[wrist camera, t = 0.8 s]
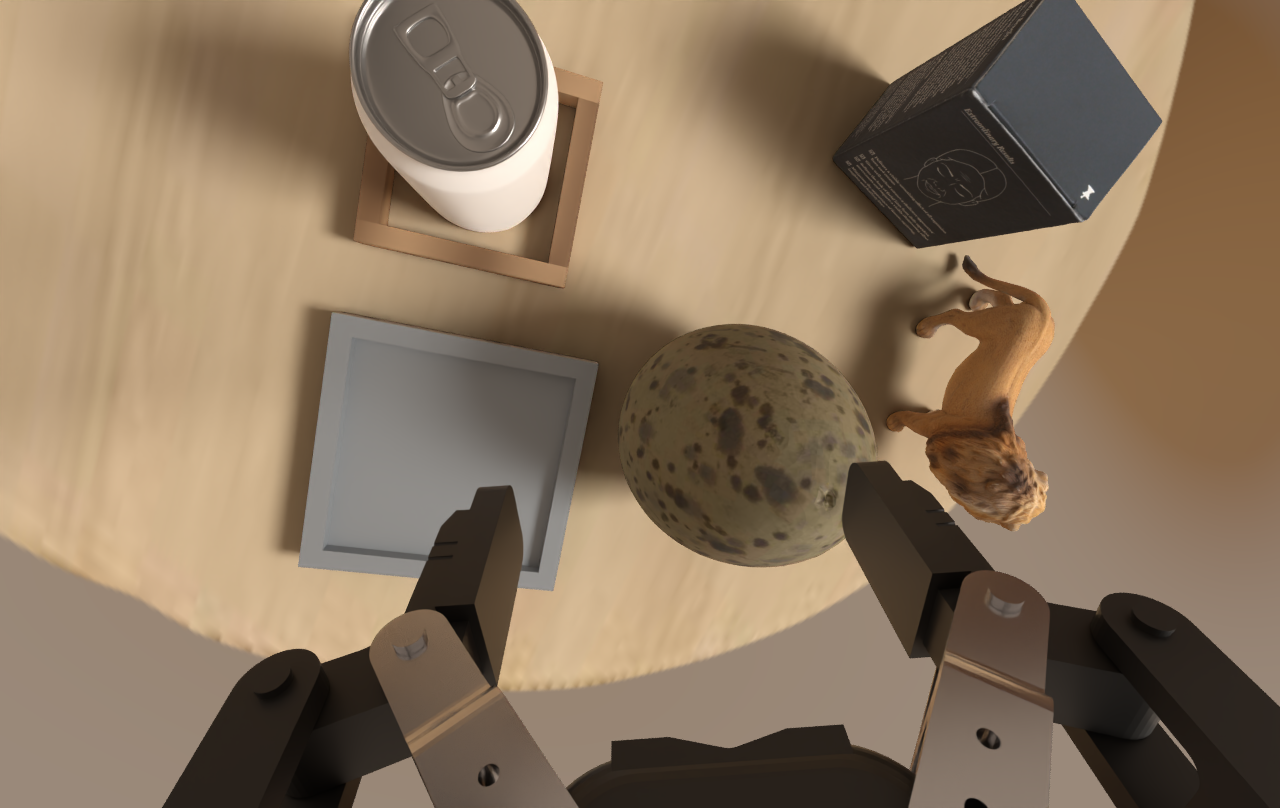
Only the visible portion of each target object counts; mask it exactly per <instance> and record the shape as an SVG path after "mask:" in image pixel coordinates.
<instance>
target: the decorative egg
mask: <svg viewBox="0 0 1280 808" xmlns="http://www.w3.org/2000/svg"><path fill="white" fill-rule="evenodd" d="M618 445H619V454H620V460H621V464H622V468H623V471H624V475H625V478H626V480H627V483H628V485H629V487H630V489H631V491H632V493H633V495H634V497H635V498H636V500H637V502H638V503H639V505H640V506H641V508H642V509H643V510H644V512H645V513H646V514H647V515H648V517H649V518H650V519H651V520H652V521H653V522H654V523H655V524H656V525H657V526H658V527H659V528H660V529H661V530H662V531H663V532H665V533H666V534H667V535H668V536H670V537H671V538H672V539H674V540H675V541H677V542H678V543H680V544H681V545H683V546H685V547H686V548H688V549H690V550H692V551H694V552H696V553H698V554H700V555H703V556H705V557H708V558H711V559H713V560H717V561H720V562H724V563H728V564H733V565H739V566H747V567H777V566H785V565H790V564H794V563H798V562H802V561H805V560H808V559H811V558H814V557H817V556H819V555H821V554H823V553H825V552H826V551H828V550H829V549H831V548H833V547H834V546H836V545H837V544H839V543H840V542H841V541H842V540H844V539H845V535H844V531H843V526H842V511H843V504H844V497H845V491H846V484H847V478H848V471H849V467H850V465H851V464H852V463H857V462H872V461H878V454H877V446H876V441H875V436H874V432H873V429H872V426H871V422H870V420H869V417H868V415H867V412H866V410H865V408H864V406H863V404H862V402H861V401H860V399H859V397H858V396H857V394H856V392H855V391H854V389H853V388H852V387H851V385H850V384H849V382H848V381H847V380H846V379H845V377H844V376H843V375H842V374H841V373H840V372H839V371H838V370H837V368H836V367H835V366H833V365H832V364H831V363H830V362H829V361H828V360H827V359H826V358H824V357H823V356H822V355H821V354H819V353H818V352H817V351H815V350H814V349H813V348H811V347H810V346H808V345H806V344H805V343H803V342H801V341H799V340H797V339H795V338H793V337H791V336H789V335H787V334H784V333H781V332H779V331H776V330H773V329H769V328H765V327H760V326H754V325H745V324H725V325H716V326H711V327H706V328H702V329H698V330H695V331H693V332H690V333H687V334H685V335H683V336H681V337H679V338H677V339H675V340H673V341H672V342H670V343H669V344H667V345H666V346H664V347H663V348H662V349H660V350H659V351H658V352H657V353H656V354H655V355H653V356H652V357H651V358H650V359H649V360H648V361H647V363H646V364H645V365H644V366H643V367H642V369H641V370H640V371H639V373H638V374H637V376H636V377H635V379H634V381H633V382H632V384H631V386H630V388H629V390H628V392H627V395H626V397H625V400H624V403H623V406H622V410H621V414H620V420H619V429H618Z"/></svg>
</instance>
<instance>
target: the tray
mask: <svg viewBox="0 0 1280 808" xmlns="http://www.w3.org/2000/svg"><path fill="white" fill-rule="evenodd" d="M598 365H599V364H598V363H597V362H596V361H592V360H587V359H582V358H577V357H572V356H566V355H561V354H556V353H551V352H546V351H541V350H536V349H530V348H525V347H520V346H515V345H510V344H505V343H500V342H495V341H489V340H484V339H479V338H474V337H469V336H464V335H459V334H453V333H448V332H443V331H438V330H433V329H428V328H423V327H418V326H412V325H407V324H402V323H397V322H392V321H387V320H382V319H376V318H371V317H366V316H361V315H356V314H351V313H346V312H332V315H331V323H330V330H329V338H328V345H327V353H326V360H325V368H324V375H323V383H322V390H321V398H320V405H319V413H318V421H317V428H316V436H315V443H314V451H313V458H312V466H311V473H310V481H309V488H308V496H307V503H306V511H305V518H304V526H303V533H302V541H301V548H300V556H299V564H298V567H306V568H317V569H327V570H338V571H348V572H359V573H369V574H379V575H390V576H400V577H411V578H420V575H421V573H422V570H423V568H424V566H425V563H426V561H428V556H429V554H430V551H431V549H432V546H434V542H435V539H436V537H437V534H438V532H439V530H440V527H441V525H442V524H443V523H444V522H445V521H446V520H447V519H448V518H449V517H450V516H451V515H452V514H453V513H454V512H455V511H456V510H469V509H470V507H471V504H472V502H473V499H474V496H475V493H476V491H477V489H478V488H479V487H490V486H505V485H511V486H512V488H513V491H514V496H515V500H516V505H517V510H518V515H519V520H520V525H521V530H522V535H523V562H522V567H521V572H520V577H519V582H518V587H517V588H526V589H536V590H547V591H553V590H554V585H555V580H556V575H557V570H558V565H559V560H560V555H561V550H562V545H563V540H564V535H565V530H566V525H567V520H568V515H569V510H570V505H571V500H572V495H573V490H574V485H575V480H576V475H577V470H578V465H579V460H580V455H581V450H582V445H583V440H584V435H585V430H586V425H587V420H588V415H589V410H590V405H591V400H592V395H593V390H594V385H595V380H596V375H597V370H598Z"/></svg>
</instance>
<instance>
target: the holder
mask: <svg viewBox="0 0 1280 808" xmlns="http://www.w3.org/2000/svg"><path fill="white" fill-rule="evenodd" d="M553 68H554V72H555V76H556V81H557V88H558V103H561V104H564V105H568V106H571V107H574V108H576V112H575V118H574V123H573V129H572V134H571V140H570V145H569V151H568V156H567V161H566V167H565V172H564V178H563V183H562V189H561V194H560V200H559V205H558V211H557V216H556V221H555V227H554V232H553V238H552V243H551V249H550V254H549V260H548V263H545V262H541V261H536V260H532V259H528V258H523V257H519V256H515V255H510V254H506V253H502V252H497V251H493V250H489V249H484V248H480V247H476V246H472V245H467V244H463V243H459V242H454V241H450V240H446V239H441V238H437V237H433V236H428V235H424V234H420V233H415V232H411V231H407V230H402V229H398V228H394V227H390V226H387V224H388V217H389V210H390V203H391V196H392V189H393V182H394V175H395V168H394V167H393V166H392V165H391V164H390V163H389V162H388V161H387V160H386V159H385V157H384V156H383V155H382V154H381V152H380V151H379V150H378V149H377V147H376V146H375V145H374V143H373V142H372V140H371V138H370V137H369V135H368V136H367V143H366V151H365V158H364V165H363V173H362V180H361V188H360V195H359V202H358V210H357V217H356V224H355V232H354V239H353V241H356V242H359V243H362V244H366V245H370V246H375V247H379V248H384V249H388V250H393V251H397V252H402V253H406V254H411V255H415V256H420V257H424V258H429V259H433V260H438V261H442V262H447V263H451V264H456V265H460V266H465V267H469V268H473V269H478V270H482V271H487V272H491V273H496V274H500V275H505V276H509V277H514V278H518V279H523V280H527V281H532V282H536V283H541V284H545V285H550V286H554V287H559V288H564V287H565V282H566V277H567V271H568V266H569V261H570V255H571V250H572V245H573V240H574V234H575V229H576V224H577V218H578V213H579V208H580V202H581V197H582V192H583V187H584V181H585V176H586V171H587V165H588V160H589V155H590V149H591V144H592V139H593V133H594V128H595V123H596V118H597V112H598V107H599V102H600V96H601V91H602V86H603V82H601V81H598V80H595V79H591V78H588V77H585V76H582V75H579V74H575V73H572V72H569V71H566V70H563V69H559V68H556V67H553Z"/></svg>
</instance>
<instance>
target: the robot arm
mask: <svg viewBox="0 0 1280 808" xmlns="http://www.w3.org/2000/svg"><path fill="white" fill-rule="evenodd" d="M842 526H843V531H844V535H845V538H846V540H847V542H848V544H849V546H850V548H851V550H852V552H853V553H854V555H855V557H856V559H857V561H858V563H859V565H860V566H861V568H862V570H863V572H864V574H865V576H866V578H867V580H868V581H869V583H870V585H871V587H872V589H873V591H874V593H875V594H876V596H877V598H878V600H879V602H880V604H881V606H882V608H883V609H884V611H885V613H886V615H887V617H888V619H889V621H890V623H891V624H892V626H893V628H894V630H895V632H896V634H897V636H898V637H899V639H900V641H901V643H902V645H903V647H904V649H905V651H906V652H907V654H908V656H909V658H921V657H931V658H932V660H933V661H934V663H935V665H936V670H935V673H934V676H933V680H932V685H931V688H930V692H929V696H928V700H927V704H926V708H925V711H924V715H923V719H922V723H921V727H920V731H919V735H918V739H917V742H916V746H915V750H914V754H913V758H912V761H911V765H910V768H909V769H907V768H906V767H904V766H903V765H901V764H899V763H897V762H896V761H894V760H892V759H890V758H889V757H886V756H884V755H882V754H879V753H877V752H875V751H872V750H869V749H866V748H863V747H860V746H856V745H851V744H850V741H849V739H848V736H847V733H846V730H845V728H844V725H830V726H815V727H801V728H787V729H784V730H781V731H779V732H776V733H773V734H770V735H768V736H765V737H762V738H759V739H757V740H754V741H751V742H749V743H746V744H743V745H740V746H738V747H734V748H722V747H717V746H712V745H707V744H702V743H697V742H692V741H686V740H681V739H676V738H671V737H664V738H649V739H635V740H623V741H622V740H621V741H612V751H611V752H612V753H611V755H612V756H611V757H612V758H611V761H609V762H606V763H604V764H601V765H599V766H597V767H595V768H593V769H591V770H590V771H588V772H586V773H585V774H583V775H582V776H580V777H579V778H577V779H576V780H575V781H573V782H572V783H571V784H570V785H569V786H568V787H566V788H565V786H564V785H563V783H562V782H561V780H560V779H559V778H558V776H557V774H556V773H555V771H554V770H553V768H552V767H551V765H550V764H549V762H548V760H547V759H546V757H545V756H544V754H543V753H542V751H541V750H540V748H539V747H538V745H537V744H536V742H535V741H534V739H533V738H532V736H531V735H530V733H529V732H528V730H527V729H526V727H525V726H524V724H523V723H522V721H521V720H520V718H519V717H518V715H517V714H516V712H515V710H514V709H513V707H512V706H511V705H510V703H509V701H508V700H507V698H506V697H505V695H504V694H503V692H502V691H501V690H500V689H499V687H498V686H497V685H498V680H499V675H500V670H501V665H502V660H503V655H504V650H505V645H506V640H507V636H508V631H509V626H510V621H511V616H512V611H513V606H514V601H515V596H516V592H517V587H518V582H519V577H520V572H521V567H522V562H523V535H522V530H521V525H520V520H519V515H518V510H517V505H516V500H515V496H514V491H513V488H512V486H511V485H505V486H490V487H479V488H478V489H477V491H476V493H475V496H474V499H473V502H472V504H471V507H470V509H469V510H456V511H455V512H454V513H453V514H452V515H451V516H450V517H449V518H448V519H447V520H446V521H445V522H444V523H443V524H442V525H441V527H440V530H439V532H438V534H437V537H436V539H435V542H434V546H432V549H431V551H430V554H429V556H428V561H426V563H425V566H424V568H423V570H422V573H421V575H420V578H419V580H418V582H417V585H416V587H415V590H414V592H413V594H412V597H411V599H410V602H409V604H408V606H407V609H406V611H405V613H404V614H403V615H401V616H399V617H397V618H395V619H393V620H392V621H390V622H389V623H388V624H387V625H385V626H384V627H383V628H382V629H381V630H380V631H379V633H378V634H377V635H376V637H375V638H374V640H373V642H372V644H371V646H369V647H367V648H365V649H363V650H360V651H357V652H354V653H351V654H348V655H345V656H343V657H340V658H337V659H334V660H331V661H328V662H325V663H322V664H321V663H320V661H319V659H318V657H317V656H316V655H315V654H314V653H313V652H311V651H309V650H305V649H291V650H286V651H283V652H280V653H277V654H274V655H272V656H270V657H268V658H266V659H264V660H263V661H261V662H260V663H258V664H256V665H255V666H254V667H253V668H251V669H250V670H249V671H248V672H247V673H246V674H245V675H244V676H243V677H242V678H241V679H240V680H239V681H238V682H237V684H236V685H235V687H234V688H233V690H232V692H231V693H230V695H229V696H228V698H227V700H226V701H225V703H224V705H223V706H222V708H221V710H220V711H219V713H218V715H217V716H216V718H215V720H214V721H213V723H212V725H211V726H210V728H209V730H208V731H207V733H206V735H205V737H204V738H203V740H202V741H201V743H200V745H199V747H198V748H197V750H196V752H195V753H194V755H193V757H192V758H191V760H190V762H189V763H188V765H187V767H186V768H185V770H184V772H183V774H182V775H181V777H180V778H179V780H178V782H177V783H176V785H175V787H174V789H173V790H172V792H171V794H170V795H169V797H168V799H167V800H166V802H165V804H164V805H163V807H162V808H352V806H353V802H354V799H355V796H356V793H357V790H358V787H359V784H360V781H361V778H362V776H364V775H366V774H368V773H371V772H374V771H376V770H379V769H381V768H384V767H386V766H389V765H391V764H394V763H396V762H399V761H401V760H404V759H406V758H409V757H411V756H412V758H413V760H414V763H415V765H416V767H417V769H418V772H419V774H420V776H421V778H422V781H423V783H424V785H425V787H426V789H427V792H428V794H429V796H430V799H431V801H432V803H433V805H434V808H1049V789H1050V771H1051V752H1052V733H1053V732H1052V731H1053V723H1058V724H1062V726H1063V727H1064V729H1065V730H1066V732H1067V733H1068V735H1069V736H1070V738H1071V740H1072V741H1073V743H1074V744H1075V745H1076V747H1077V749H1078V750H1079V752H1080V753H1081V755H1082V756H1083V758H1084V759H1085V761H1086V762H1087V764H1088V765H1089V767H1090V768H1091V769H1092V771H1093V773H1094V774H1095V776H1096V777H1097V779H1098V780H1099V782H1100V783H1101V785H1102V786H1103V788H1104V790H1105V791H1106V793H1107V794H1108V796H1109V797H1110V798H1111V800H1112V802H1113V803H1114V805H1115V806H1116V808H1280V707H1279V706H1278V705H1277V704H1276V703H1275V702H1274V701H1273V700H1272V699H1271V698H1270V697H1269V696H1268V695H1267V694H1266V693H1265V692H1264V691H1263V690H1262V689H1260V687H1259V686H1258V685H1256V684H1255V683H1254V682H1253V681H1252V680H1251V679H1250V678H1249V677H1248V676H1247V675H1246V674H1245V673H1244V672H1243V671H1242V670H1241V669H1240V668H1239V667H1238V666H1237V665H1236V664H1235V663H1234V662H1232V661H1231V660H1230V659H1229V658H1228V657H1227V656H1226V655H1225V654H1224V653H1223V652H1222V651H1221V650H1220V649H1219V648H1218V647H1217V646H1216V645H1215V644H1214V643H1213V642H1212V641H1211V640H1210V639H1209V638H1208V637H1206V636H1205V635H1204V634H1203V633H1202V632H1201V631H1200V630H1199V629H1198V628H1197V627H1196V626H1195V625H1194V624H1193V623H1192V622H1191V621H1189V620H1188V619H1187V618H1186V617H1185V616H1183V615H1182V614H1180V613H1179V612H1178V611H1176V610H1174V609H1173V608H1171V607H1169V606H1167V605H1165V604H1163V603H1161V602H1159V601H1156V600H1154V599H1151V598H1148V597H1145V596H1141V595H1137V594H1131V593H1114V594H1110V595H1108V596H1106V597H1104V598H1103V599H1102V601H1101V603H1100V605H1099V607H1098V609H1097V611H1092V610H1086V609H1080V608H1075V607H1069V606H1063V605H1058V604H1053V603H1048V602H1046V601H1045V599H1044V598H1043V596H1042V595H1041V594H1040V593H1039V592H1037V590H1035V589H1034V588H1033V587H1032V586H1030V585H1029V584H1027V583H1026V582H1024V581H1022V580H1021V579H1018V578H1016V577H1014V576H1011V575H1009V574H1006V573H1002V572H998V571H995V570H994V569H993V568H992V567H991V566H990V564H989V563H988V562H987V561H986V559H985V558H984V557H983V556H982V555H981V553H980V552H979V551H978V550H977V549H976V547H975V546H974V545H973V544H972V543H971V541H970V540H969V539H968V538H967V536H966V535H965V534H964V533H963V532H962V530H961V529H960V528H959V527H958V525H955V522H954V520H953V519H952V518H951V517H950V516H949V514H948V513H947V512H944V508H943V507H942V506H941V505H940V503H939V502H938V501H937V500H936V499H935V497H934V496H933V495H932V494H931V493H930V492H928V491H927V490H925V489H924V488H922V487H921V486H919V485H918V484H916V483H915V482H913V481H912V480H908V481H902V480H901V478H900V477H899V476H898V474H897V473H896V472H895V470H894V469H893V468H892V467H891V465H890V464H889V463H888V462H887V461H872V462H857V463H852V464H851V465H850V467H849V471H848V478H847V484H846V491H845V497H844V504H843V511H842ZM1159 720H1161V721H1162V722H1163V723H1164V724H1165V726H1166V727H1167V728H1168V729H1169V730H1170V732H1171V733H1172V734H1173V735H1174V737H1175V738H1176V739H1177V740H1178V741H1179V743H1180V744H1181V745H1182V746H1183V747H1184V749H1185V750H1186V751H1187V753H1188V754H1189V755H1190V757H1191V758H1192V760H1193V762H1194V764H1195V766H1196V768H1197V770H1196V769H1195V767H1194V766H1193V765H1192V764H1191V763H1190V761H1189V760H1188V759H1187V758H1186V757H1185V755H1184V754H1183V753H1182V752H1181V750H1180V749H1179V748H1178V747H1177V745H1176V744H1175V743H1174V742H1173V741H1172V739H1171V738H1170V737H1169V736H1168V735H1167V733H1166V732H1165V731H1164V730H1163V728H1162V727H1161V726H1160V725H1159V724H1158V722H1159Z"/></svg>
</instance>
